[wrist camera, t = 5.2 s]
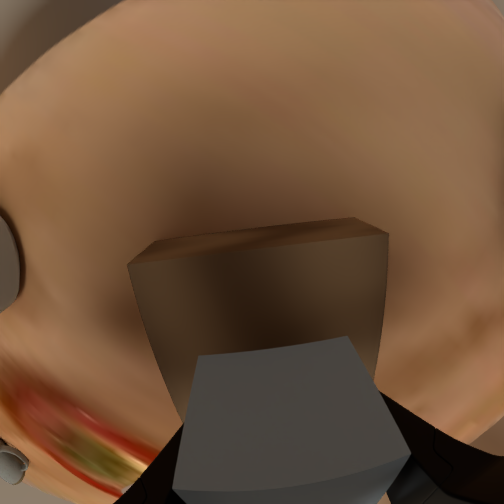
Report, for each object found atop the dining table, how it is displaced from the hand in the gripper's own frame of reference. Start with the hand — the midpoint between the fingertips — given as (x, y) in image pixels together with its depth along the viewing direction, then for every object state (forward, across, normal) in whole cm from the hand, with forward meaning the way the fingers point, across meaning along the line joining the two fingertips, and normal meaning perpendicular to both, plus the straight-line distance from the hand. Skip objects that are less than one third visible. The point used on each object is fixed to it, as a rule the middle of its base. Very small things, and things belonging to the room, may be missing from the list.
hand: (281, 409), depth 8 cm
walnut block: (+7, 0, 0) cm, 7 cm away
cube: (+1, 0, 0) cm, 1 cm away
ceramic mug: (+7, +50, +25) cm, 56 cm away
